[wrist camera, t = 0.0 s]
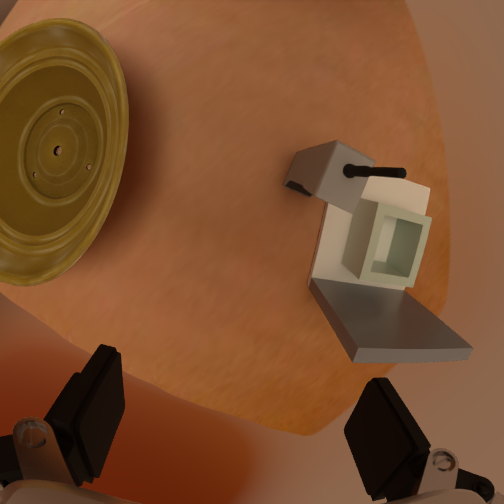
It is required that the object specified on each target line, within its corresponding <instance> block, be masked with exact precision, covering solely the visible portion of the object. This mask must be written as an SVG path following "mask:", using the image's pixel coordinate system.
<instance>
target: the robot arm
mask: <svg viewBox="0 0 504 504" xmlns="http://www.w3.org/2000/svg"><path fill="white" fill-rule="evenodd" d="M124 409H125V399H124V389H123V377H122V363H121V353H119V352H117V350H116V348H115V347H111V346H107V345H103V344H100V345H99V347H98V348H97V350H96V351H95V353H94V354H93V355H92V357H91V359H90V360H89V361H88V363H87V364H86V366H85V367H84V369H83V370H82V372H81V373H78V372H76V373H74V374H73V376H72V377H71V378H70V380H69V381H68V383H67V384H66V386H65V387H64V389H63V390H62V392H61V393H60V395H59V396H58V398H57V399H56V401H55V402H54V404H53V405H52V407H51V409H50V410H49V412H48V413H47V415H46V416H45V418H44V419H43V420H42V419H41V418H36V417H27V418H23V419H21V420H20V421H18V422H17V423H16V424H15V425H14V428H13V431H12V432H13V433H12V435H7V436H1V437H0V504H141V503H136V502H132V501H128V500H124V499H120V498H116V497H113V496H109V495H106V494H102V493H98V492H95V491H91V490H88V489H84V488H81V487H79V486H81V485H82V483H83V481H86V482H89V483H92V482H93V480H94V477H96V478H99V477H100V474H101V471H102V469H103V466H104V463H105V460H106V457H107V455H108V452H109V449H110V447H111V444H112V441H113V439H114V436H115V433H116V431H117V428H118V426H119V423H120V421H121V418H122V415H123V413H124ZM344 434H345V437H346V439H347V442H348V445H349V447H350V450H351V452H352V455H353V458H354V460H355V463H356V466H357V468H358V471H359V474H360V476H361V479H362V481H363V484H364V487H365V490H366V492H367V494H368V495H371V498H372V501H376V500H380V499H384V498H385V497H386V499H387V503H383V504H504V496H503V495H502V494H500V493H499V492H496V493H495V494H494V486H493V484H492V483H491V481H489V480H488V479H486V478H485V477H482V476H479V475H476V474H473V473H470V472H467V471H465V470H462V469H459V468H458V467H459V462H458V459H457V457H456V456H455V455H454V454H453V453H452V452H451V451H449V450H447V449H443V448H437V449H434V450H432V451H431V452H430V450H429V448H430V446H431V445H430V443H429V441H428V440H427V438H426V437H425V435H424V434H423V432H422V430H421V429H420V427H419V426H418V424H417V422H416V421H415V419H414V418H413V416H412V415H411V413H410V412H409V410H408V408H407V407H406V405H405V404H404V402H403V401H402V399H401V398H400V396H399V395H398V393H397V392H396V390H395V389H394V387H393V386H392V384H391V383H390V381H389V380H388V379H387V378H385V377H384V378H372V379H371V381H369V382H368V383H367V384H366V386H365V388H364V390H363V392H362V394H361V396H360V398H359V400H358V402H357V405H356V406H355V408H354V410H353V412H352V414H351V416H350V418H349V420H348V421H347V423H346V425H345V428H344Z"/></svg>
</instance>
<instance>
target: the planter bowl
mask: <svg viewBox="0 0 504 504" xmlns="http://www.w3.org/2000/svg"><path fill="white" fill-rule="evenodd" d="M62 109H64V113H63V114H62V115H61V114H60V111H61V110H62ZM128 130H129V105H128V94H127V88H126V83H125V78H124V74H123V71H122V68H121V66H120V63H119V61H118V58H117V56H116V54H115V52H114V50H113V49H112V47H111V46H110V44H109V43H108V41H107V40H106V39H105V38H104V37H103V36H102V35H101V34H100V33H99V32H98V31H96V30H95V29H94V28H92V27H90V26H89V25H87V24H84V23H82V22H80V21H76V20H72V19H65V18H53V19H47V20H42V21H38V22H35V23H32V24H30V25H27V26H25V27H23V28H21V29H19V30H18V31H16V32H14V33H12V34H11V35H9V36H8V37H7V38H5V39H4V40H3V41H1V42H0V281H1V282H4V283H7V284H10V285H15V286H35V285H39V284H43V283H46V282H48V281H51V280H53V279H55V278H57V277H58V276H60V275H61V274H63V273H64V272H66V271H67V270H68V269H69V268H70V267H72V266H73V265H74V264H75V263H76V262H77V261H78V260H79V259H80V258H81V256H82V255H83V254H84V253H85V252H86V250H87V249H88V248H89V246H90V245H91V244H92V242H93V241H94V239H95V238H96V236H97V234H98V233H99V231H100V229H101V227H102V225H103V224H104V222H105V219H106V217H107V215H108V213H109V211H110V208H111V206H112V203H113V201H114V198H115V195H116V192H117V189H118V186H119V183H120V179H121V175H122V171H123V167H124V162H125V157H126V151H127V142H128ZM56 146H61V148H62V153H61V155H60V156H55V155H54V148H55V147H56ZM88 164H91V169H90V170H87V169H86V167H87V165H88ZM34 172H36V174H37V175H36V177H33V173H34Z"/></svg>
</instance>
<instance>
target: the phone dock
mask: <svg viewBox="0 0 504 504" xmlns="http://www.w3.org/2000/svg"><path fill="white" fill-rule="evenodd" d="M429 193H430V188H428V187H425V186H422V185H419V184H416V183H413V182H411V181H408V180H405V179H401V178H390V177H377V176H370V177H369V178H368V181H367V183H366V186H365V188H364V191H363V193H362V195H361V198H360V200H359V203H358V205H357V207H356V210H355V212H354V214H351V213H349V212H347V211H345V210H342V209H340V208H338V207H336V206H334V205H332V204H330V203H328V202H326V204H325V209H324V214H323V218H322V223H321V227H320V232H319V236H318V241H317V245H316V249H315V254H314V258H313V262H312V266H311V270H310V274H309V278H308V282H307V286H308V287H309V289H310V291H311V292H312V294H313V296H314V298H315V299H316V301H317V303H318V304H319V306H320V308H321V309H322V311H323V313H324V314H325V316H326V318H327V319H328V321H329V323H330V325H331V326H332V328H333V330H334V331H335V333H336V335H337V337H338V338H339V340H340V342H341V343H342V345H343V347H344V349H345V350H346V352H347V354H348V356H349V357H350V359H351V361H352V363H420V362H443V361H458V360H468V358H469V356H470V354H471V352H472V350H473V347H472V346H471V345H469V344H468V343H467V342H466V341H465V340H464V339H462V338H461V337H460V336H459V335H458V334H457V333H456V332H454V331H453V330H452V329H451V328H450V327H449V326H447V325H446V324H445V323H444V322H443V321H441V320H440V319H439V318H438V317H436V316H435V315H434V314H433V313H432V312H430V311H429V310H428V309H427V308H425V307H424V306H423V305H422V304H421V303H419V302H418V301H417V300H416V299H414V298H413V297H412V296H411V295H409V294H408V293H407V292H405V291H404V289H405V286H406V287H412V288H413V285H414V282H415V279H416V276H417V273H418V269H419V266H420V263H421V259H422V256H423V252H424V248H425V245H426V241H427V237H428V233H429V229H430V225H431V220H432V218H431V217H428V216H425V213H426V208H427V203H428V198H429Z"/></svg>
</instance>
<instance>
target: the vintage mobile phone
mask: <svg viewBox="0 0 504 504" xmlns="http://www.w3.org/2000/svg"><path fill="white" fill-rule="evenodd" d="M374 163H375V160H373V159H372V158H370V157H368V156H366V155H364V154H363V153H361V152H359V151H357V150H355V149H353V148H352V147H350V146H348V145H346V144H344V143H342V142H340V141H338V140H335V141H332V142H328V143H325V144H321V145H318V146H315V147H311V148H308V149H305V150H302V151H299V152H297V153H296V155H295V158H294V160H293V163H292V165H291V167H290V170H289V172H288V174H287V177H286V179H285V182H284V184H283V186H284V187H286V188H288V189H291V190H293V191H295V192H298V193H300V194H302V195H305V196H307V197H311V196H312V195H313V196H315V197H317V198H319V199H321V200H323V201H325V202H328V203H330V204H332V205H334V206H336V207H338V208H340V209H342V210H345V211H347V212H349V213H351V214H354V212H355V210H356V207H357V205H358V203H359V200H360V198H361V195H362V193H363V191H364V188H365V186H366V183H367V181H368V178H369V177H370V176H377V177H390V178H401V179H403V178H405V177H406V170H405V169H404V168H392V167H373V166H374Z"/></svg>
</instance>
